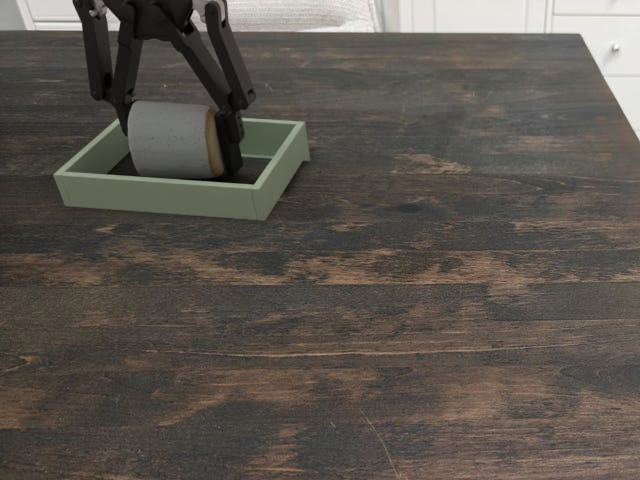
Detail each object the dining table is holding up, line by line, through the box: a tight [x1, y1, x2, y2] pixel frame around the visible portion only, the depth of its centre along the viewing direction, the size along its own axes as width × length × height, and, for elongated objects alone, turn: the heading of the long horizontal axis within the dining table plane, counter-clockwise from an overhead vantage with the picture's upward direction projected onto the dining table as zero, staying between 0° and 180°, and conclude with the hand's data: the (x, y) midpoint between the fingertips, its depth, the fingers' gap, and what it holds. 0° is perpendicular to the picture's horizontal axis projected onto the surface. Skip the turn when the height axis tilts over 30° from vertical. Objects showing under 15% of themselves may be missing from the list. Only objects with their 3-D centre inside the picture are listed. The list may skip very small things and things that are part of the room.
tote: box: [52, 117, 311, 222], centre depth 79 cm, size 21×16×5 cm
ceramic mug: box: [128, 99, 226, 180], centre depth 77 cm, size 11×8×8 cm
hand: (192, 167), depth 79 cm, fingers closed on ceramic mug, 9 cm apart
